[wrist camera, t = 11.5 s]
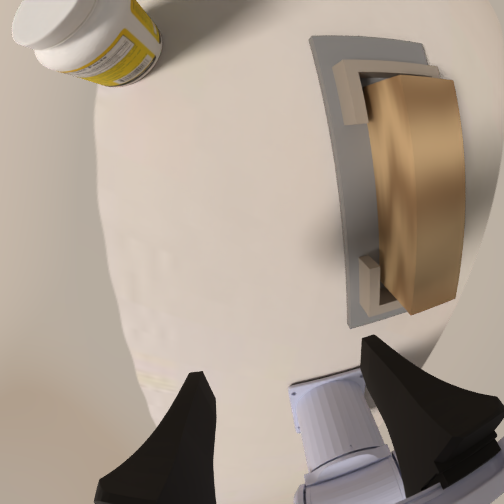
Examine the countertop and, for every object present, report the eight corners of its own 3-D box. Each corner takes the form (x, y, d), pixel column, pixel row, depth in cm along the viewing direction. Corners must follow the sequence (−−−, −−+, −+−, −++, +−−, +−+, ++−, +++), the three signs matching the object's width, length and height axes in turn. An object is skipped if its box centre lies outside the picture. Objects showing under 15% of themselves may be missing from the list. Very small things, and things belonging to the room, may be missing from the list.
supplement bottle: (106, 21, 12) (33, -33, 3) (174, 23, 13) (128, -57, 4) (82, 87, 14) (-14, 66, 5) (149, 93, 15) (70, 55, 6)
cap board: (431, 297, 22) (447, 312, 20) (347, 323, 22) (358, 344, 20) (416, 45, 14) (436, 37, 11) (308, 39, 14) (320, 24, 12)
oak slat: (420, 268, 20) (455, 298, 15) (379, 279, 20) (410, 315, 15) (408, 88, 15) (453, 80, 10) (360, 88, 15) (399, 74, 10)
